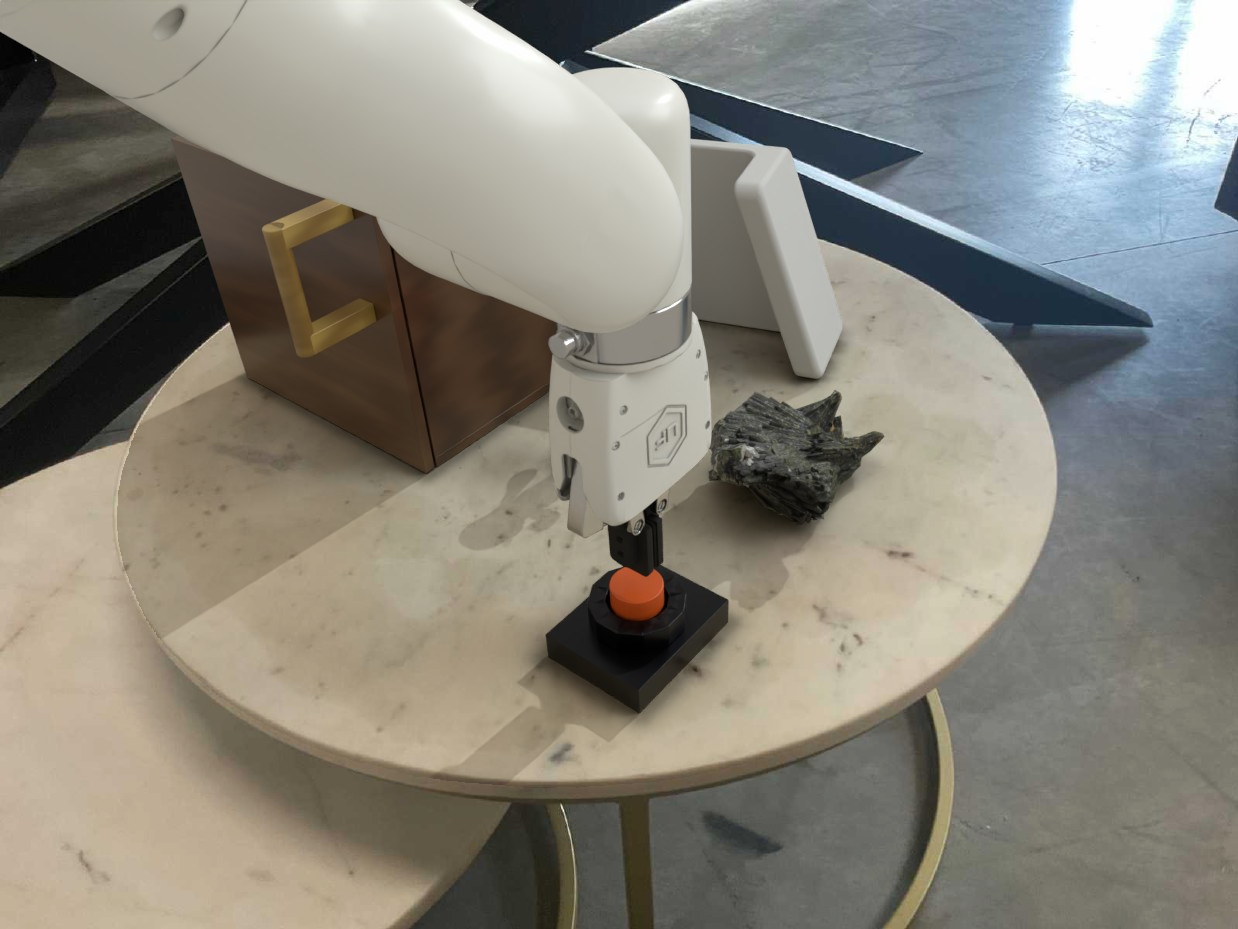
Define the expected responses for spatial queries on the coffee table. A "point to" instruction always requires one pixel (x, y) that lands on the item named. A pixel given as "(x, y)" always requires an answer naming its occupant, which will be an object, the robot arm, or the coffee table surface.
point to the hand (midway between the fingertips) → (636, 561)
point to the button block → (637, 638)
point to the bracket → (760, 251)
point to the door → (310, 300)
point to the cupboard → (470, 357)
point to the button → (636, 594)
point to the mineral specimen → (787, 454)
